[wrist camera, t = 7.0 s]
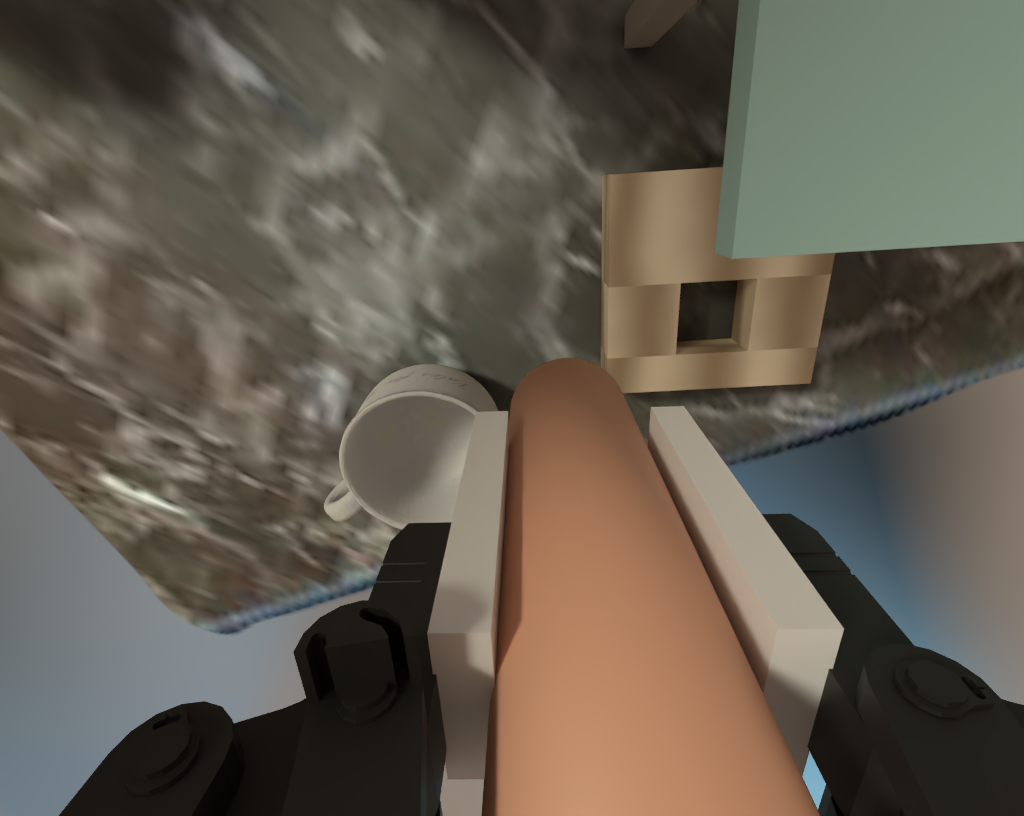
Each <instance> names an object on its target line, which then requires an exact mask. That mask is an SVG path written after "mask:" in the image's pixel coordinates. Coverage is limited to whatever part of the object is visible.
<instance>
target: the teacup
mask: <svg viewBox="0 0 1024 816" xmlns="http://www.w3.org/2000/svg"><path fill="white" fill-rule="evenodd" d="M491 411H498V409H497V406H496V404H495V402H494V401H493V399H492V397H491V396H490V394H489V393H488V392H487V390H486V389H485V388H484V387H483V386H482V385H481V384H480V383H479V382H477V381H476V380H475V379H474V378H472V377H471V376H469V375H468V374H466V373H464V372H462V371H460V370H457V369H455V368H451V367H448V366H443V365H437V364H421V365H415V366H410V367H407V368H404V369H401V370H399V371H397V372H394V373H392V374H391V375H389V376H388V377H386V378H385V379H384V380H382V381H381V382H380V383H379V384H378V385H377V386H376V387H375V388H374V389H373V390H372V391H371V393H370V394H369V395H368V397H367V398H366V399H365V401H364V402H363V404H362V406H361V407H360V409H359V411H358V413H357V414H356V416H355V417H354V418H353V419H352V421H351V422H350V424H349V425H348V427H347V428H346V430H345V432H344V435H343V438H342V442H341V446H340V451H339V461H340V469H341V473H342V476H343V478H344V480H343V481H342V482H341V483H339V484H338V485H337V486H336V487H335V488H334V489H333V490H332V492H331V493H330V494H329V496H328V497H327V499H326V501H325V504H324V508H325V511H326V513H327V514H328V515H329V516H330V517H331V518H332V519H334V520H335V521H344V520H347V519H349V518H350V517H352V516H354V515H355V514H356V513H358V512H359V511H360V510H361V509H362V508H364V509H365V510H366V511H368V512H369V513H370V514H372V515H373V516H375V517H376V518H378V519H380V520H382V521H383V522H385V523H387V524H389V525H391V526H393V527H396V528H399V529H403V528H404V527H405V526H406V525H407V524H408V523H440V522H452V519H453V514H454V510H455V505H456V501H457V496H458V491H459V487H460V482H461V478H462V473H463V469H464V464H465V460H466V455H467V451H468V446H469V442H470V437H471V432H472V428H473V423H474V419H475V414H476V412H491Z"/></svg>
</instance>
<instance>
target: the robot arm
mask: <svg viewBox="0 0 1024 816" xmlns="http://www.w3.org/2000/svg"><path fill="white" fill-rule="evenodd" d="M509 447H510V441H509V420H508V411H491V412H476V414H475V419H474V423H473V428H472V432H471V437H470V442H469V446H468V451H467V455H466V460H465V464H464V469H463V473H462V478H461V482H460V487H459V491H458V496H457V501H456V505H455V510H454V514H453V519H452V522H440V523H408V524H407V525H406V526H405V527H404V528H403V529H402V530H401V531H400V532H399V533H398V534H397V535H396V536H395V537H394V538H393V539H392V540H391V542H390V545H389V548H388V550H387V553H386V555H385V558H384V561H383V566H381V569H380V571H379V574H378V577H377V579H376V584H374V587H373V590H372V592H371V595H370V598H369V600H368V601H358V602H355V603H351V604H347V605H344V606H340V607H339V608H337V609H335V610H333V611H331V612H329V613H327V614H326V615H324V616H322V617H320V618H319V619H318V620H317V621H316V622H315V623H314V624H313V625H312V626H311V627H310V628H309V629H308V630H307V631H306V632H305V633H304V634H303V635H302V637H301V639H300V641H299V643H298V645H297V647H296V648H295V650H294V656H295V659H296V663H297V666H298V670H299V673H300V677H301V680H302V684H303V687H304V691H305V694H306V699H304V700H302V701H301V702H299V703H296V704H293V705H291V706H288V707H286V708H283V709H280V710H277V711H274V712H271V713H267V714H264V715H260V716H258V717H254V718H251V719H247V720H244V721H241V722H238V723H234V724H233V721H232V719H231V718H230V716H229V715H228V714H227V713H226V711H225V710H224V709H223V707H221V706H217V705H215V704H211V703H208V702H196V703H187V704H181V705H179V706H176V707H174V708H171V709H169V710H166V711H164V712H161V713H159V714H156V715H155V716H153V717H152V718H150V719H149V720H147V721H146V722H144V723H143V724H141V725H140V726H138V727H137V728H135V729H134V730H132V731H131V732H130V733H129V734H128V735H127V736H126V737H125V738H124V739H123V740H122V741H121V742H120V743H119V744H118V745H117V746H116V747H115V748H114V749H113V750H112V751H111V752H110V753H109V754H108V755H107V757H106V758H105V759H104V760H103V761H102V763H101V764H100V765H99V766H98V768H97V769H96V770H95V771H94V773H93V774H92V775H91V776H90V778H89V779H88V780H87V781H86V783H85V784H84V785H83V786H82V788H81V789H80V790H79V791H78V793H77V794H76V795H75V796H74V797H73V799H72V800H71V801H70V803H69V804H68V805H67V806H66V807H65V809H64V810H63V811H62V812H61V814H60V815H59V816H442V809H441V802H440V793H441V786H442V779H443V771H444V765H445V763H446V770H447V777H448V779H484V776H485V762H486V747H487V733H488V719H489V705H490V700H491V695H492V691H493V689H494V686H495V674H496V657H497V641H498V625H499V609H500V593H501V576H502V560H503V544H504V528H505V512H506V495H507V479H508V463H509ZM648 449H649V451H650V453H651V455H652V457H653V459H654V461H655V464H656V466H657V468H658V470H659V472H660V474H661V476H662V479H663V481H664V483H665V485H666V487H667V489H668V491H669V493H670V496H671V498H672V500H673V502H674V504H675V506H676V508H677V511H678V513H679V515H680V517H681V519H682V521H683V523H684V525H685V528H686V530H687V532H688V534H689V536H690V538H691V540H692V543H693V545H694V547H695V549H696V551H697V553H698V555H699V558H700V560H701V562H702V564H703V566H704V568H705V570H706V572H707V575H708V577H709V579H710V581H711V583H712V585H713V587H714V590H715V592H716V594H717V596H718V598H719V600H720V602H721V604H722V607H723V609H724V611H725V613H726V615H727V617H728V619H729V622H730V624H731V626H732V628H733V630H734V632H735V634H736V637H737V639H738V641H739V643H740V645H741V647H742V649H743V651H744V654H745V656H746V658H747V660H748V662H749V664H750V666H751V669H752V671H753V673H754V675H755V677H756V679H757V681H758V684H759V686H760V688H761V690H762V692H763V694H764V696H765V698H766V701H767V703H768V705H769V707H770V709H771V711H772V713H773V716H774V718H775V720H776V722H777V724H778V726H779V728H780V730H781V733H782V735H783V737H784V739H785V741H786V743H787V745H788V748H789V750H790V752H791V754H792V756H793V758H794V760H795V763H796V765H797V767H798V769H799V771H800V773H801V775H803V772H804V768H805V765H806V761H807V758H808V754H809V751H810V753H811V755H812V757H813V758H814V760H815V762H816V765H817V767H818V768H819V770H820V772H821V774H822V776H823V778H824V780H825V782H826V786H825V790H824V793H823V796H822V799H821V802H820V805H819V809H818V812H819V814H820V816H1024V705H1021V704H1017V703H1013V702H1009V701H1006V700H1003V699H1001V698H1000V697H999V696H998V695H997V694H996V693H995V692H994V691H993V690H992V689H991V688H990V687H989V686H988V685H987V684H986V683H985V682H984V681H983V680H982V679H981V678H980V677H978V676H977V675H975V674H974V673H972V672H971V671H969V670H968V669H967V668H965V667H964V666H962V665H961V664H959V663H958V662H956V661H954V660H952V659H950V658H947V657H945V656H943V655H941V654H938V653H936V652H934V651H932V650H929V649H925V648H921V647H916V646H914V645H913V644H912V642H911V641H910V640H909V639H908V638H907V636H906V635H905V634H904V633H903V632H902V631H901V630H900V628H899V627H898V626H897V625H896V623H895V622H894V621H893V620H892V619H891V618H890V616H889V615H888V614H887V613H886V612H885V611H884V609H883V608H882V607H881V606H880V605H879V603H878V602H877V601H876V600H875V599H874V597H873V596H872V595H871V594H870V593H869V592H868V591H867V589H866V588H865V587H864V586H863V584H862V583H861V582H860V581H859V580H858V579H857V577H855V575H851V573H850V569H849V568H848V567H847V566H846V564H845V563H844V562H843V561H842V560H841V559H840V557H836V555H835V551H834V550H833V549H832V548H831V547H830V546H829V544H828V543H827V542H826V541H825V540H824V538H823V537H822V536H821V535H820V534H819V533H818V531H816V530H815V529H813V528H812V527H810V526H809V525H807V524H806V523H804V522H803V521H801V520H799V519H798V518H796V517H795V516H793V515H792V514H761V513H760V511H759V510H758V509H757V507H756V506H755V505H754V503H753V502H752V500H751V499H750V498H749V496H748V495H747V493H746V492H745V491H744V489H743V488H742V486H741V485H740V484H739V482H738V481H737V479H736V478H735V477H734V475H733V474H732V473H731V471H730V470H729V468H728V467H727V466H726V464H725V463H724V461H723V460H722V459H721V457H720V456H719V454H718V453H717V452H716V450H715V449H714V448H713V446H712V445H711V443H710V442H709V441H708V439H707V438H706V436H705V435H704V434H703V432H702V431H701V429H700V428H699V427H698V425H697V424H696V423H695V421H694V420H693V418H692V417H691V416H690V414H689V413H688V411H687V410H686V409H685V407H684V406H671V407H651V412H650V426H649V440H648Z"/></svg>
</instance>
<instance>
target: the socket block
mask: <svg viewBox="0 0 1024 816" xmlns="http://www.w3.org/2000/svg"><path fill="white" fill-rule="evenodd" d="M722 173H723V167H713V168H698V169H683V170H668V171H654V172H639V173H624V174H609V175H602V281H601V367H602V368H603V369H605V370H606V371H607V372H608V373H609V374H610V375H611V376H612V377H613V378H614V379H615V380H616V382H617V383H618V385H619V387H620V389H621V391H622V393H637V392H656V391H675V390H694V389H713V388H733V387H752V386H771V385H790V384H809V383H811V379H812V374H813V369H814V363H815V358H816V353H817V348H818V342H819V337H820V332H821V326H822V321H823V316H824V310H825V305H826V300H827V294H828V289H829V284H830V278H831V273H832V268H833V262H834V257H835V253H822V254H806V255H790V256H773V257H757V258H740V259H731V258H728V257H725V256H723V255H720V254H717V253H715V246H716V236H717V225H718V215H719V204H720V194H721V183H722ZM727 280H738V282H737V291H736V299H735V308H734V317H733V325H732V334H731V338H728V339H710V340H692V341H677V331H678V317H679V303H680V289H681V283H693V282H710V281H727Z"/></svg>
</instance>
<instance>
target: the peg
mask: <svg viewBox="0 0 1024 816" xmlns="http://www.w3.org/2000/svg"><path fill="white" fill-rule="evenodd" d="M509 441H510V447H509V463H508V479H507V495H506V512H505V528H504V544H503V560H502V576H501V593H500V609H499V625H498V641H497V657H496V674H495V686H494V689H493V691H492V695H491V700H490V705H489V719H488V733H487V747H486V762H485V776H484V791H483V805H482V816H820V814H819V812H818V809H817V807H816V805H815V803H814V801H813V799H812V797H811V795H810V792H809V790H808V788H807V786H806V784H805V782H804V780H803V777H802V775H801V773H800V771H799V769H798V767H797V765H796V763H795V760H794V758H793V756H792V754H791V752H790V750H789V748H788V745H787V743H786V741H785V739H784V737H783V735H782V733H781V730H780V728H779V726H778V724H777V722H776V720H775V718H774V716H773V713H772V711H771V709H770V707H769V705H768V703H767V701H766V698H765V696H764V694H763V692H762V690H761V688H760V686H759V684H758V681H757V679H756V677H755V675H754V673H753V671H752V669H751V666H750V664H749V662H748V660H747V658H746V656H745V654H744V651H743V649H742V647H741V645H740V643H739V641H738V639H737V637H736V634H735V632H734V630H733V628H732V626H731V624H730V622H729V619H728V617H727V615H726V613H725V611H724V609H723V607H722V604H721V602H720V600H719V598H718V596H717V594H716V592H715V590H714V587H713V585H712V583H711V581H710V579H709V577H708V575H707V572H706V570H705V568H704V566H703V564H702V562H701V560H700V558H699V555H698V553H697V551H696V549H695V547H694V545H693V543H692V540H691V538H690V536H689V534H688V532H687V530H686V528H685V525H684V523H683V521H682V519H681V517H680V515H679V513H678V511H677V508H676V506H675V504H674V502H673V500H672V498H671V496H670V493H669V491H668V489H667V487H666V485H665V483H664V481H663V479H662V476H661V474H660V472H659V470H658V468H657V466H656V464H655V461H654V459H653V457H652V455H651V453H650V451H649V449H648V446H647V444H646V442H645V440H644V438H643V436H642V434H641V432H640V429H639V427H638V425H637V423H636V421H635V419H634V417H633V414H632V412H631V410H630V408H629V406H628V404H627V402H626V400H625V397H624V395H623V393H622V391H621V389H620V387H619V385H618V383H617V382H616V380H615V379H614V378H613V377H612V376H611V375H610V374H609V373H608V372H607V371H606V370H605V369H603V368H602V367H600V366H598V365H597V364H594V363H592V362H590V361H586V360H583V359H576V358H563V359H556V360H552V361H549V362H546V363H544V364H542V365H540V366H538V367H536V368H535V369H533V370H532V371H530V372H529V373H528V374H527V375H526V376H525V377H524V378H523V379H522V380H521V382H520V383H519V385H518V386H517V388H516V390H515V392H514V394H513V397H512V400H511V406H510V417H509Z"/></svg>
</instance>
